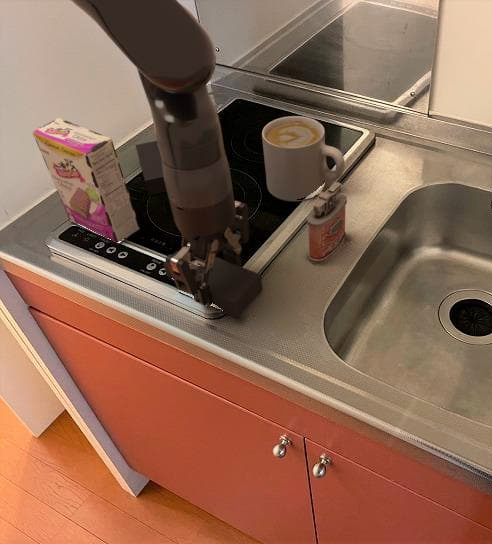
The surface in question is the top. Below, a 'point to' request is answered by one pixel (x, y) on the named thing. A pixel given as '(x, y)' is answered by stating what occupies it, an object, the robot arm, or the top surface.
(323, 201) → the lighter
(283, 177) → the coffee mug
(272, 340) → the top surface
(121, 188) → the candy bar box
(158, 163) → the notch mat
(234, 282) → the tab pad
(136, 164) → the top surface
